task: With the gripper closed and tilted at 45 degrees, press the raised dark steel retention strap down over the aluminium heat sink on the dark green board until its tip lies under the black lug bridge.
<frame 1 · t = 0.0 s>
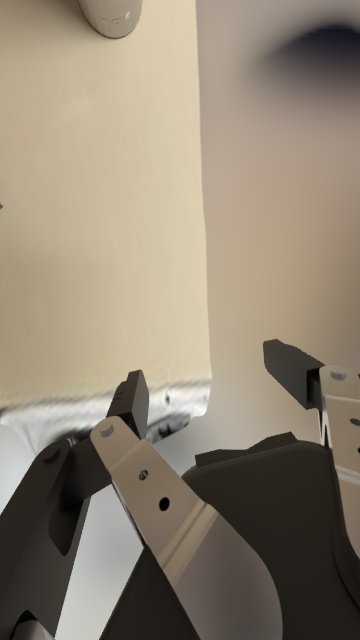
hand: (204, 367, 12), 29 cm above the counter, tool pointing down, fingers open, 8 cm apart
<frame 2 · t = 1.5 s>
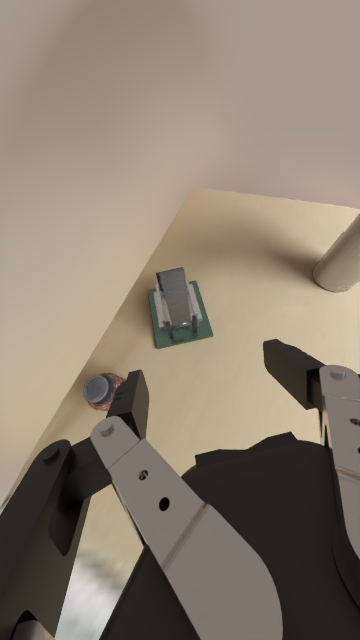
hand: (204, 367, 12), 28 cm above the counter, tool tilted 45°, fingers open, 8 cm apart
heatsink: (183, 334, 43), on the counter
retention strap: (177, 302, 34), point 11 cm above the counter, hinge at 20.0°
supplement bottle: (122, 395, 38), on the counter
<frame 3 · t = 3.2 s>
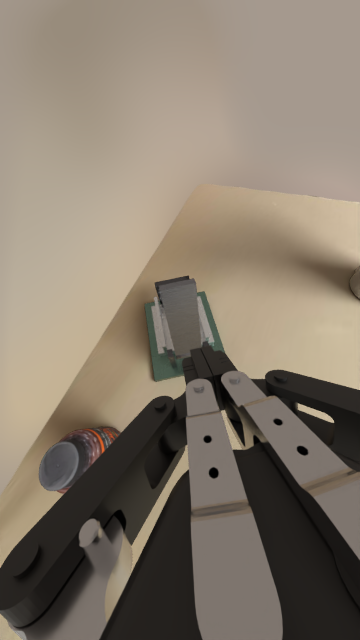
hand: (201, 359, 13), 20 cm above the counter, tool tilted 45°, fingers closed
heatsink: (189, 362, 33), on the counter
retention strap: (184, 325, 24), point 11 cm above the counter, hinge at 20.0°
supplement bottle: (107, 448, 28), on the counter
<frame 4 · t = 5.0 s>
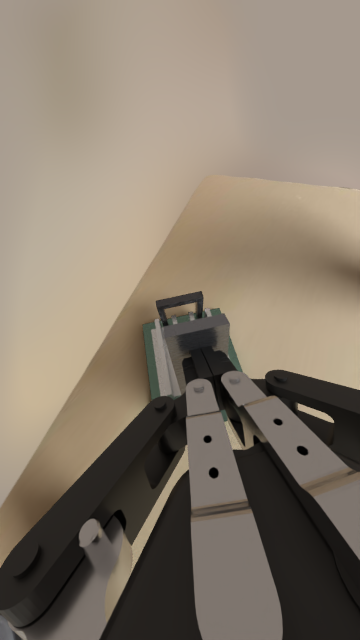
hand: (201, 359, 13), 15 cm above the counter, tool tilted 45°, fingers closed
heatsink: (202, 408, 25), on the counter
retention strap: (201, 378, 16), point 11 cm above the counter, hinge at 20.1°, touching gripper
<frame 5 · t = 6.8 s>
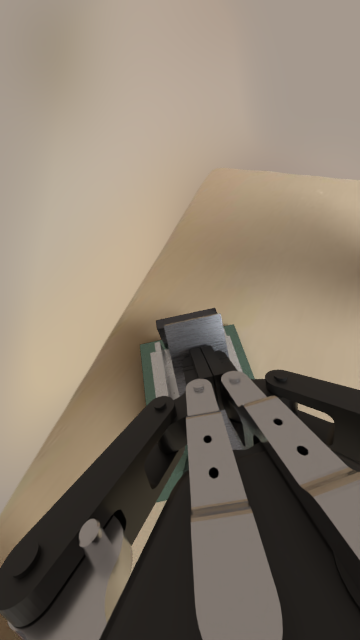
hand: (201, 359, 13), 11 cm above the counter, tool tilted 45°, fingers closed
heatsink: (216, 458, 19), on the counter
retention strap: (209, 403, 14), point 9 cm above the counter, hinge at 58.6°, touching gripper
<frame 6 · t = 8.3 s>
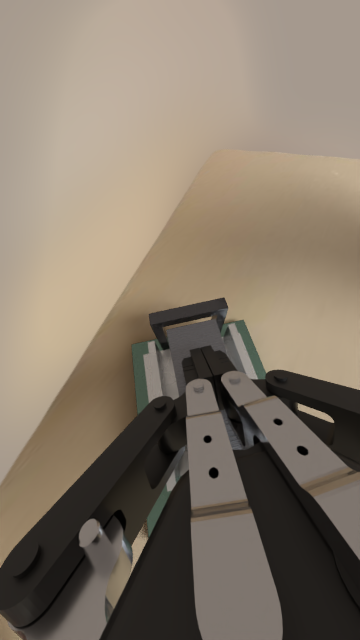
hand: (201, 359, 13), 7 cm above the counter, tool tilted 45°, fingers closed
heatsink: (226, 488, 15), on the counter
retention strap: (213, 412, 12), point 6 cm above the counter, hinge at 87.4°, touching gripper
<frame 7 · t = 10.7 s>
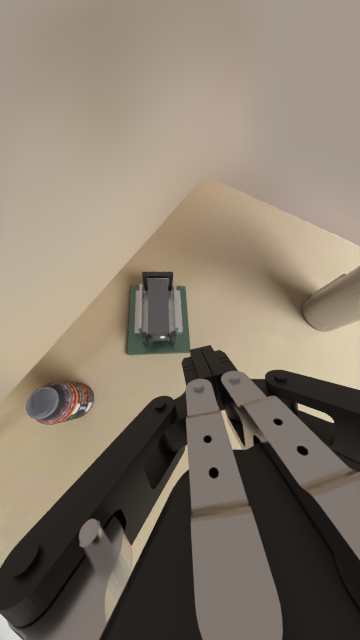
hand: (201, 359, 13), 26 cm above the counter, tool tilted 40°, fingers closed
heatsink: (159, 344, 40), on the counter
retention strap: (158, 308, 36), point 6 cm above the counter, hinge at 87.5°
supplement bottle: (79, 400, 35), on the counter
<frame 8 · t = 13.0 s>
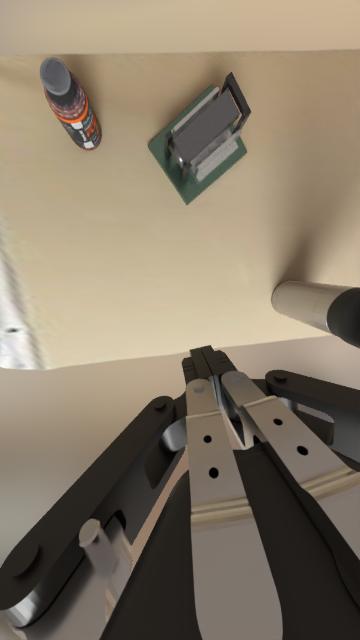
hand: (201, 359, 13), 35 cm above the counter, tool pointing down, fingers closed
heatsink: (175, 171, 39), on the counter
retention strap: (203, 131, 33), point 6 cm above the counter, hinge at 87.5°
supplement bottle: (87, 134, 36), on the counter
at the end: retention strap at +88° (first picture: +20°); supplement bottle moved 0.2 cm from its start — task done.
